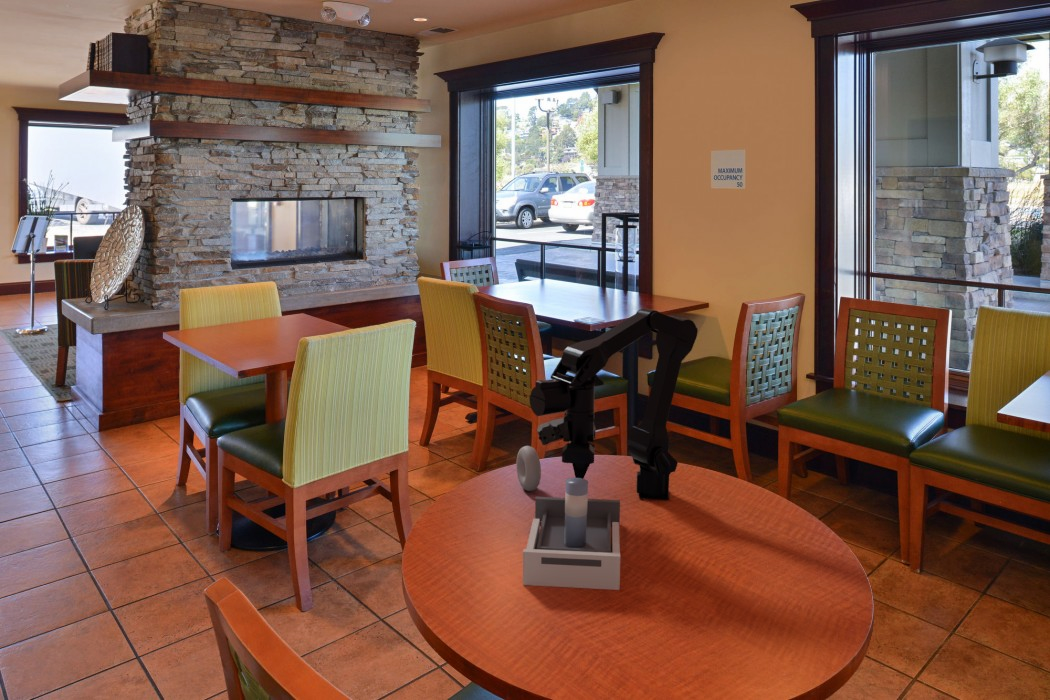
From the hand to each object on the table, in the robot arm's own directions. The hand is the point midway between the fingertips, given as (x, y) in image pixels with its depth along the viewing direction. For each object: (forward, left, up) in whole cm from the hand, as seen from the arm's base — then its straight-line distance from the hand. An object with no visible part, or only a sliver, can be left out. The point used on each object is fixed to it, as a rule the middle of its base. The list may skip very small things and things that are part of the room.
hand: (579, 482), depth 161 cm
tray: (0, +14, -7) cm, 16 cm away
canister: (0, +17, -6) cm, 18 cm away
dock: (0, +21, -7) cm, 22 cm away
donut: (+12, -12, -7) cm, 18 cm away
